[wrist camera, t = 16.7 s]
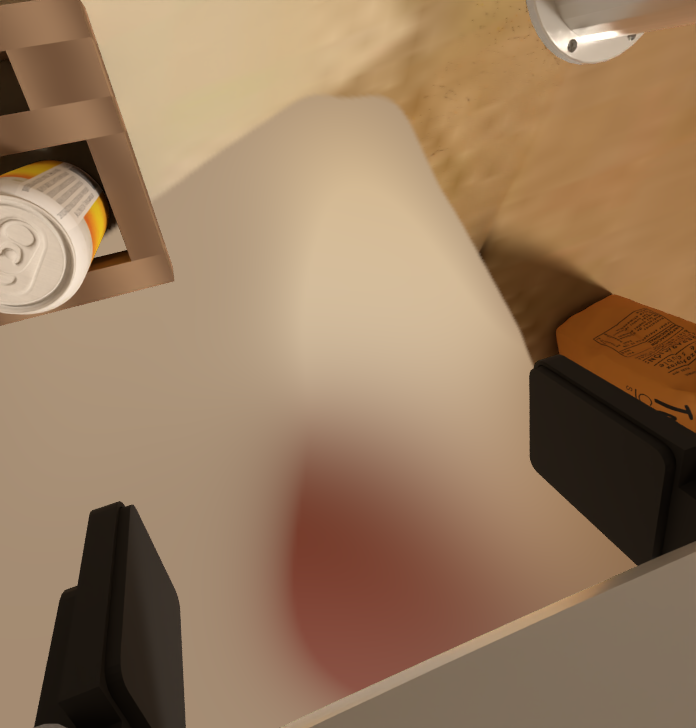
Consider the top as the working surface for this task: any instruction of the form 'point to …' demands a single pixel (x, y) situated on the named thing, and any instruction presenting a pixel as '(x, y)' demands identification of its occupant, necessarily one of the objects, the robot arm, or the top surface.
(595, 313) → the coffee package
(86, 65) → the brown wooden slotted block
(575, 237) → the top surface
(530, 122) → the top surface
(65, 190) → the beer can
